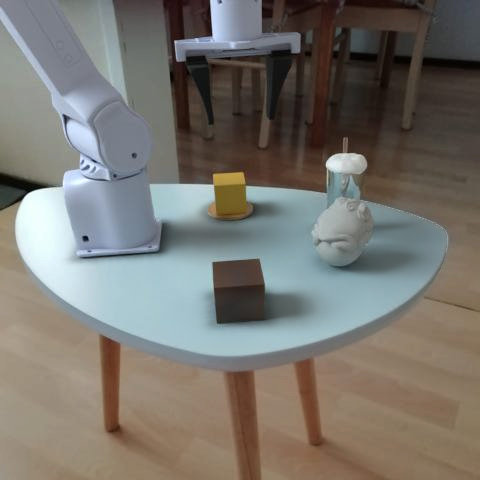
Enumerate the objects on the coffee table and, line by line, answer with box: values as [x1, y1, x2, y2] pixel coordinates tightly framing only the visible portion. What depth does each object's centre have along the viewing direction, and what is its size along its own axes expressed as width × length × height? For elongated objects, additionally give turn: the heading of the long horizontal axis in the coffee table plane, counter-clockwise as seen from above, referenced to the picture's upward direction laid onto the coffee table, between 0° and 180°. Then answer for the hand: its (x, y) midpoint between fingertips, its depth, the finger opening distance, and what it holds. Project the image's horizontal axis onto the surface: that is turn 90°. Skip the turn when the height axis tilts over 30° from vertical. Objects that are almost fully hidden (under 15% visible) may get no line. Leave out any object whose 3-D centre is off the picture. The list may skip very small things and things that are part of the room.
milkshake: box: [325, 137, 368, 210], centre depth 57 cm, size 4×5×10 cm
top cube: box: [212, 171, 247, 215], centre depth 64 cm, size 4×4×4 cm
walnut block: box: [211, 257, 266, 324], centre depth 47 cm, size 5×5×4 cm
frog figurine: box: [311, 197, 375, 267], centre depth 52 cm, size 6×7×7 cm
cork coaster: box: [207, 200, 254, 222], centre depth 65 cm, size 6×6×1 cm
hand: (240, 120), depth 62 cm, fingers open, 7 cm apart
